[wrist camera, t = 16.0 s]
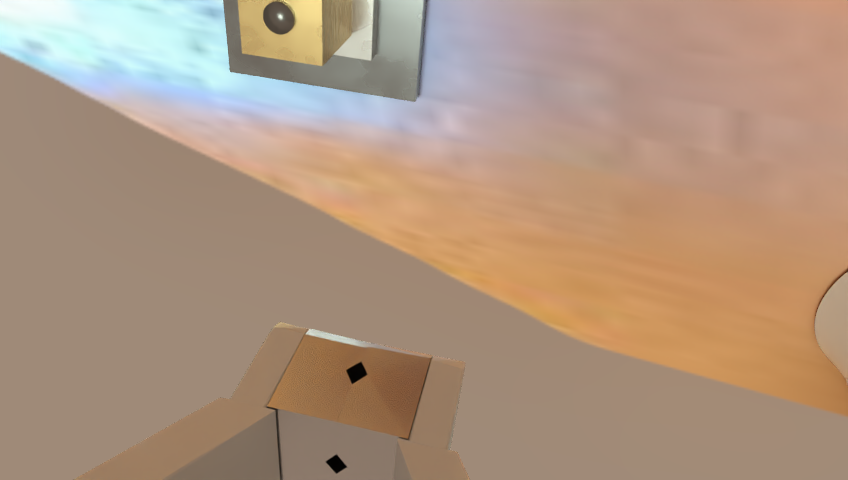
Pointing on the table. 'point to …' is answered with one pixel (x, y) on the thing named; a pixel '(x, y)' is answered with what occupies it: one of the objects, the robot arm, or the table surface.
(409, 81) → the press
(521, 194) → the table surface
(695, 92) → the table surface
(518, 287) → the table surface
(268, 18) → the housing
